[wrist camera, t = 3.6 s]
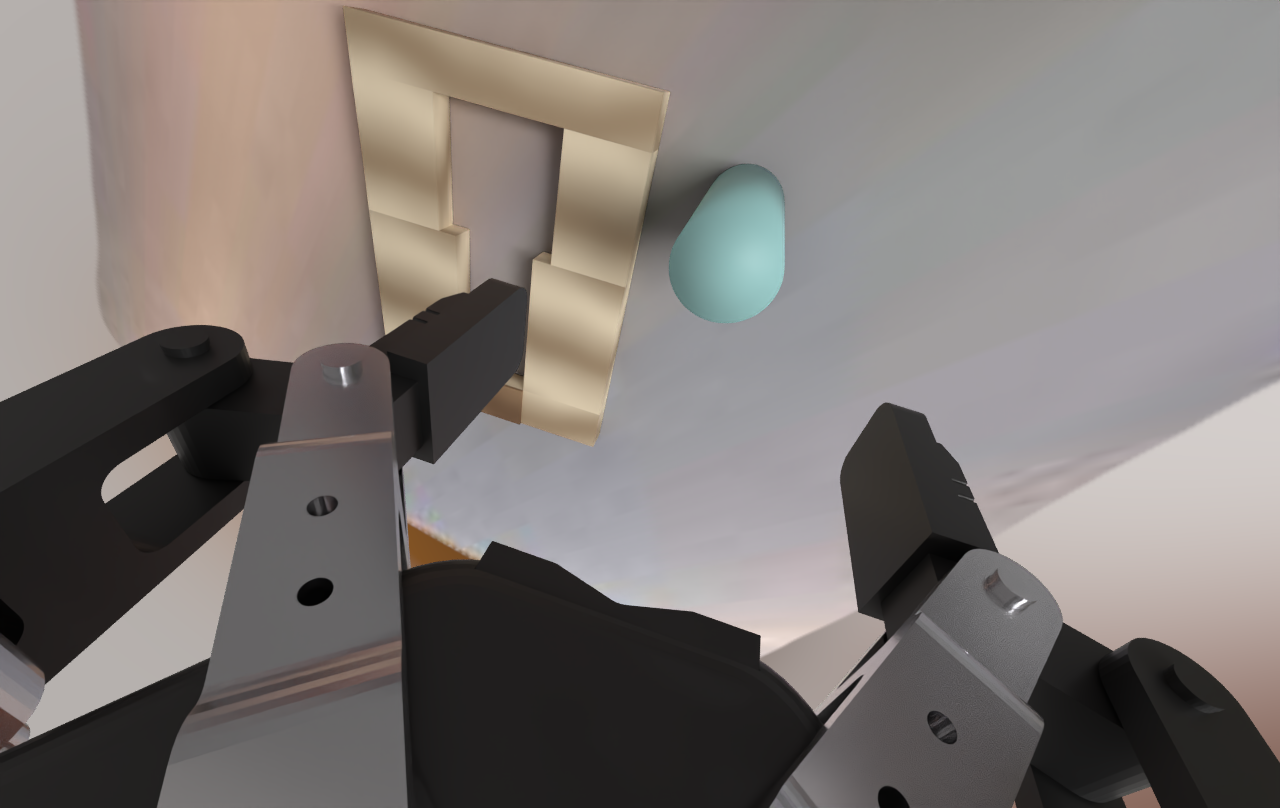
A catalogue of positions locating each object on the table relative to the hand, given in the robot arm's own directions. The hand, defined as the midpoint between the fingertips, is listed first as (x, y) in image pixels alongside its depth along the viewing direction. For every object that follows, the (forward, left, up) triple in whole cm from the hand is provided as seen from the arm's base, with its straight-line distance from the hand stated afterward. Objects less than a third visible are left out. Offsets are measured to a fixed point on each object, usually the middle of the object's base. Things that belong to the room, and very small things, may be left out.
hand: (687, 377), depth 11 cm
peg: (0, 0, -18) cm, 18 cm away
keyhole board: (+13, +7, -18) cm, 23 cm away
